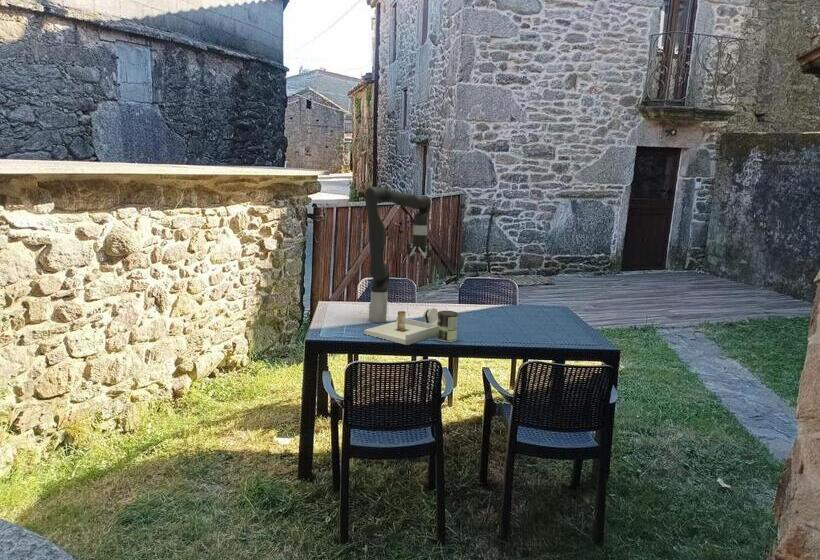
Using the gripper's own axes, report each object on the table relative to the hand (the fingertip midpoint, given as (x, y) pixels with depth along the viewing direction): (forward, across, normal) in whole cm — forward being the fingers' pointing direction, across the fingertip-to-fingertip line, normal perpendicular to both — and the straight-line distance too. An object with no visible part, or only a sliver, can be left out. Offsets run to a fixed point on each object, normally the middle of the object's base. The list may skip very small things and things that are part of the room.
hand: (418, 264), depth 334 cm
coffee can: (+36, +22, -3) cm, 43 cm away
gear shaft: (+36, -1, -12) cm, 38 cm away
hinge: (+36, -2, +18) cm, 41 cm away
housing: (+36, 0, -12) cm, 38 cm away
